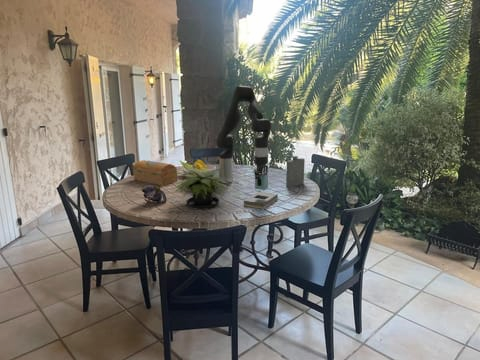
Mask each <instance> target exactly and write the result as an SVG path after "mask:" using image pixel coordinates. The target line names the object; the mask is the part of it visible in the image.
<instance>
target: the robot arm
mask: <svg viewBox="0 0 480 360" xmlns="http://www.w3.org/2000/svg"><path fill="white" fill-rule="evenodd" d="M234 89H235V90H234V92H233V95H232V99H231V103H230V106H229V109H228V111H227V113H226V115H225V120H224V122H223V124H222V127H221V129H220V131H219V132H218V135H217V138H216V142H215V143H216V147H217V148H219V149H225V150H223V151H222V152H221V153H219V157H218V158H219V160H218V161H219V168H218V169H220V168H221V169H220V170H218V176H219V177H221V178H224V179H222V182H223V180H224V182H225V181H226V182H228V183H227V184H230V183H233V182H234V174H233V173H234V170H233V169H234V167H233V165H234V164H233V162H234V160H233V156H234V138H233V136H232V135H231V134H230V133H232V132H233V131H235V130H236V128H237V127H238V126H239V123H240V122H241V119H242V114H241V111H240V109H239V103H240V102H242V103H243V102H245V103H249V105H248V107H247V114H248V116H249V119H250V120H251V129H252V131H253V132H255V133H262V134H261V135H258V136H256V137H255V140H254V164H255V165H256V169H253V172H254V180H255V179H257V185H258V186H261V178H262V175H263V174H266V175H268V171H269V165H268V163H269V148H268V146H269V145H268V143H269V136H270V134H271V133H270V132H271V129H272V122H271V120H270V119H268V118H264V114H263V112H262V110H261V108H260V107H259V105H258V101H257V99H256V98H257V97H256V95H255V91H254V89H253V87H251V86H247V85H237V86H236V87H235V88H234ZM222 168H224V169H222ZM225 179H226V180H225ZM222 182H221V181H220V182H219V183H222ZM224 182H223V183H224ZM223 183H222V184H223ZM224 184H225V183H224Z"/></svg>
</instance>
